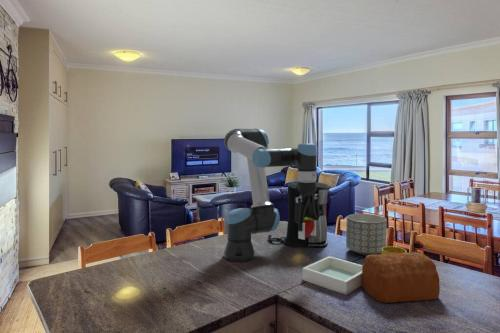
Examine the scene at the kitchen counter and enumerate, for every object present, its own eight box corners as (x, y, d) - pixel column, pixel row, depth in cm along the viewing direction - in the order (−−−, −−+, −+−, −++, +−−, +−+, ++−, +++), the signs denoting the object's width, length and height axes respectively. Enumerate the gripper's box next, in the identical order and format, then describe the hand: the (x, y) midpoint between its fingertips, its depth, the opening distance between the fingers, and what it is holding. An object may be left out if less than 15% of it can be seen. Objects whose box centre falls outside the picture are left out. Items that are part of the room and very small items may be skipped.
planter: (389, 251, 180) (390, 216, 179) (380, 262, 164) (381, 224, 163) (352, 245, 190) (352, 212, 189) (341, 255, 174) (341, 219, 173)
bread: (443, 300, 127) (445, 260, 125) (380, 305, 123) (381, 264, 122) (414, 281, 143) (415, 245, 142) (358, 285, 140) (359, 248, 139)
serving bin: (302, 279, 145) (302, 268, 145) (329, 266, 159) (329, 256, 159) (346, 295, 131) (346, 282, 130) (370, 279, 145) (371, 267, 145)
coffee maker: (335, 247, 188) (336, 184, 185) (277, 251, 181) (277, 186, 178) (318, 235, 210) (319, 179, 207) (266, 238, 203) (266, 181, 200)
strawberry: (313, 235, 148) (313, 211, 147) (315, 240, 141) (315, 215, 140) (299, 235, 148) (298, 211, 148) (301, 240, 141) (300, 215, 140)
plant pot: (376, 267, 158) (377, 246, 157) (398, 266, 159) (399, 245, 158) (387, 276, 148) (388, 254, 147) (411, 275, 149) (411, 253, 148)
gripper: (298, 184, 133) (299, 243, 135) (328, 180, 147) (328, 234, 148) (284, 182, 139) (284, 240, 140) (314, 178, 152) (314, 231, 154)
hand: (307, 236), depth 144 cm, fingers closed on strawberry, 7 cm apart
